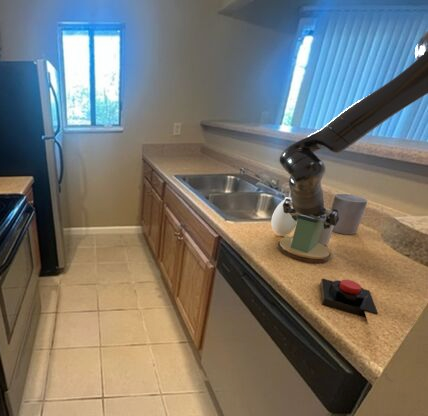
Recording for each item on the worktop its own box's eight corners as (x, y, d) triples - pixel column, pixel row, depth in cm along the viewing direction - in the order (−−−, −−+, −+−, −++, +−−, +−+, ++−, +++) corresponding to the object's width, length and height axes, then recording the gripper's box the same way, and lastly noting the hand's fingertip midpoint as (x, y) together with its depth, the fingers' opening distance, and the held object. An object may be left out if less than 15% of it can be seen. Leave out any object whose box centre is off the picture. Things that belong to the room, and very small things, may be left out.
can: (313, 236, 105) (321, 207, 101) (333, 245, 99) (343, 214, 94) (297, 239, 104) (305, 209, 99) (317, 248, 97) (326, 217, 93)
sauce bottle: (284, 230, 110) (294, 188, 104) (296, 239, 103) (308, 194, 97) (264, 230, 111) (273, 188, 104) (275, 239, 103) (286, 194, 97)
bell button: (357, 288, 71) (360, 282, 70) (360, 296, 68) (362, 291, 67) (338, 283, 73) (340, 277, 72) (339, 291, 70) (341, 285, 69)
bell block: (366, 297, 73) (371, 284, 71) (374, 320, 65) (380, 307, 64) (319, 284, 78) (323, 272, 77) (322, 305, 70) (326, 292, 69)
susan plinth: (327, 248, 97) (328, 244, 96) (331, 269, 85) (333, 264, 84) (278, 238, 104) (279, 234, 104) (275, 255, 93) (276, 251, 92)
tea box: (335, 249, 93) (346, 214, 88) (320, 263, 85) (332, 226, 80) (289, 235, 103) (297, 203, 99) (272, 246, 96) (280, 212, 91)
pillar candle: (321, 223, 116) (330, 190, 110) (348, 225, 113) (359, 191, 108) (332, 233, 107) (344, 197, 102) (362, 236, 105) (375, 199, 99)
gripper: (342, 192, 76) (342, 219, 86) (285, 181, 86) (292, 207, 97) (331, 214, 75) (332, 239, 85) (275, 201, 85) (282, 224, 96)
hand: (311, 222), depth 91 cm, fingers open, 8 cm apart
